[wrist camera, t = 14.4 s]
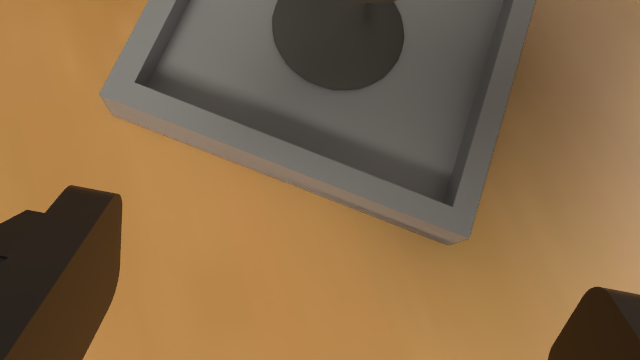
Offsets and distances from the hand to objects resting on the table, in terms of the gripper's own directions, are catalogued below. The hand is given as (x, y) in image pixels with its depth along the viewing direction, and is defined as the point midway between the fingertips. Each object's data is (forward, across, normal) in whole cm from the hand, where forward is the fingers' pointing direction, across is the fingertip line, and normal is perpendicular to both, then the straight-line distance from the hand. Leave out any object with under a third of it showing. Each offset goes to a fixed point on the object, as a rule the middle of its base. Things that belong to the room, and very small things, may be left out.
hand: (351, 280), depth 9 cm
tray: (+14, 0, -1) cm, 14 cm away
